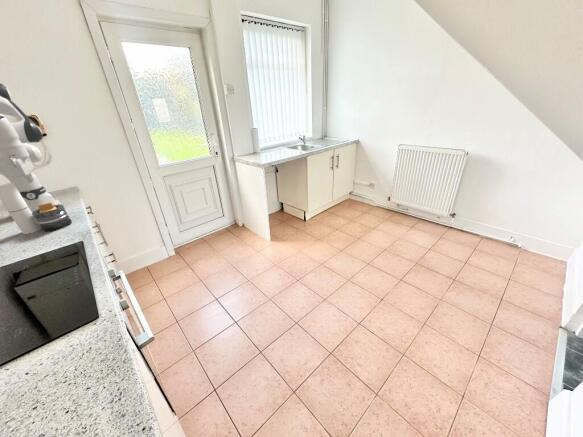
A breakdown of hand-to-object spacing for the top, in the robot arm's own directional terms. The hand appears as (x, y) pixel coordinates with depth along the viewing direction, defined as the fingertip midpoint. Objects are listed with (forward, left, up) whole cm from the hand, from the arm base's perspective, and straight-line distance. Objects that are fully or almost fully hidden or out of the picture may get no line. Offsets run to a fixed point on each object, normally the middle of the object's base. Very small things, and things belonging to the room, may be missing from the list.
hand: (31, 182), depth 117 cm
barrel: (0, 0, -25) cm, 25 cm away
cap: (0, 0, -17) cm, 17 cm away
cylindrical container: (-3, -10, -25) cm, 27 cm away
